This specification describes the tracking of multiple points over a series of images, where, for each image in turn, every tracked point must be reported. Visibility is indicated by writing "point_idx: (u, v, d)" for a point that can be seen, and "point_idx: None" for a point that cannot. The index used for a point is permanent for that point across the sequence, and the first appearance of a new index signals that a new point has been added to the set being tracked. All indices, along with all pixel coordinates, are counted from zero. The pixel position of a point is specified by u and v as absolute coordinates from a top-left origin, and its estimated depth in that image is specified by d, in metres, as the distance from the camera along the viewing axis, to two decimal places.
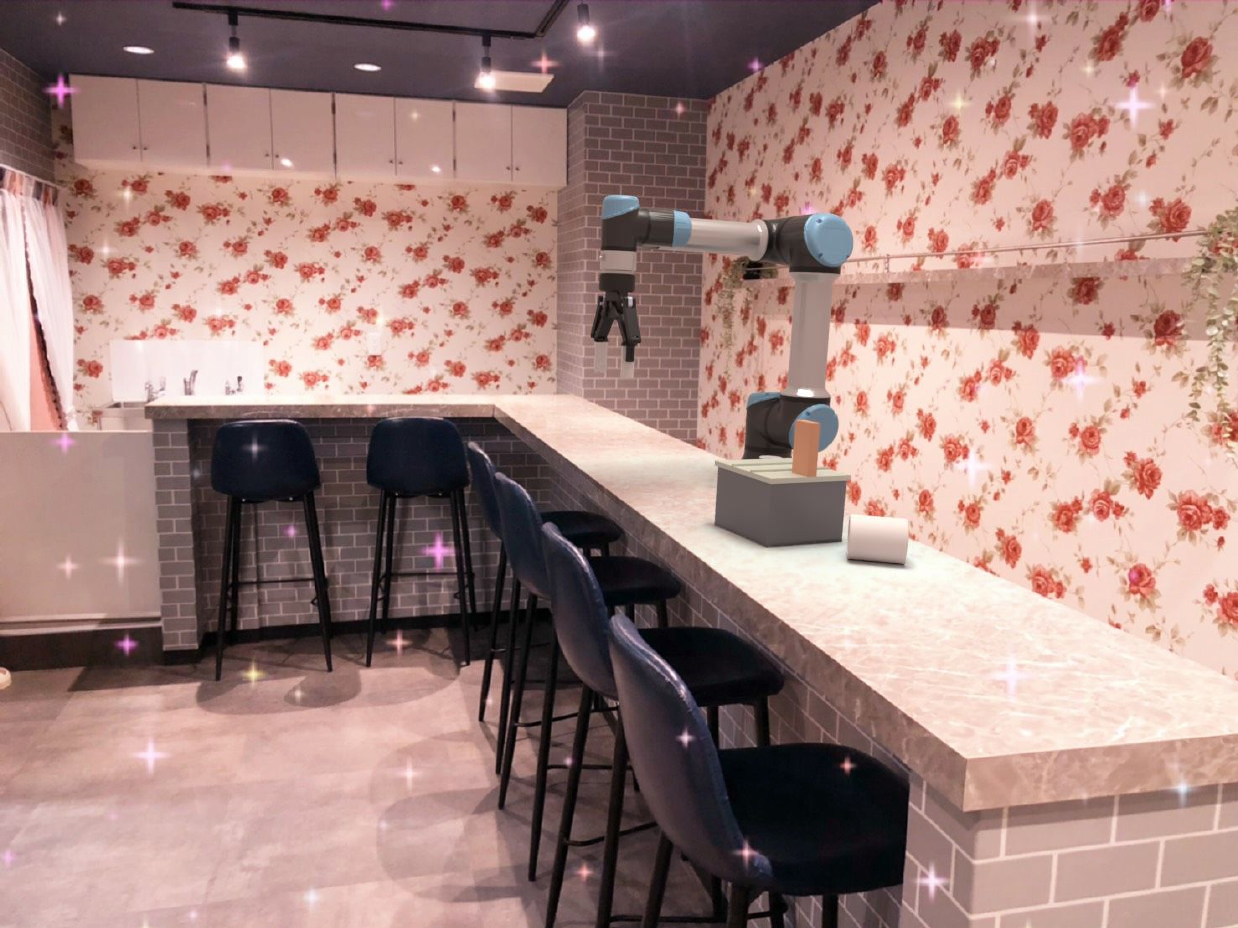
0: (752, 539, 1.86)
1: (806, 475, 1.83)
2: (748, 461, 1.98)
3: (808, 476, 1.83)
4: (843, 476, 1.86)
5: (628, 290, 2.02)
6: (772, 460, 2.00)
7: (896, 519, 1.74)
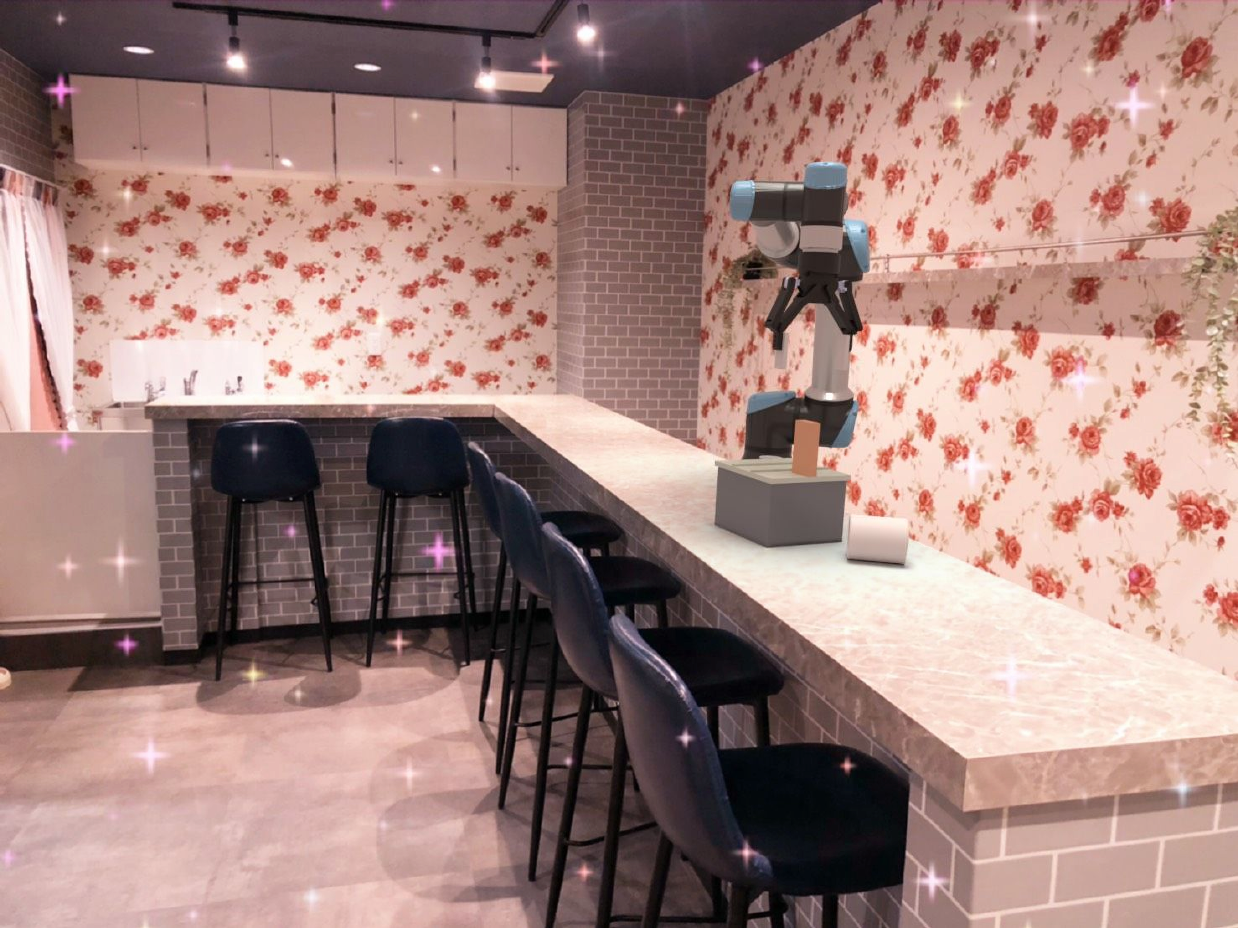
0: (752, 539, 1.86)
1: (806, 475, 1.83)
2: (748, 461, 1.98)
3: (808, 476, 1.83)
4: (843, 476, 1.86)
5: (805, 270, 1.77)
6: (772, 460, 2.00)
7: (896, 519, 1.74)
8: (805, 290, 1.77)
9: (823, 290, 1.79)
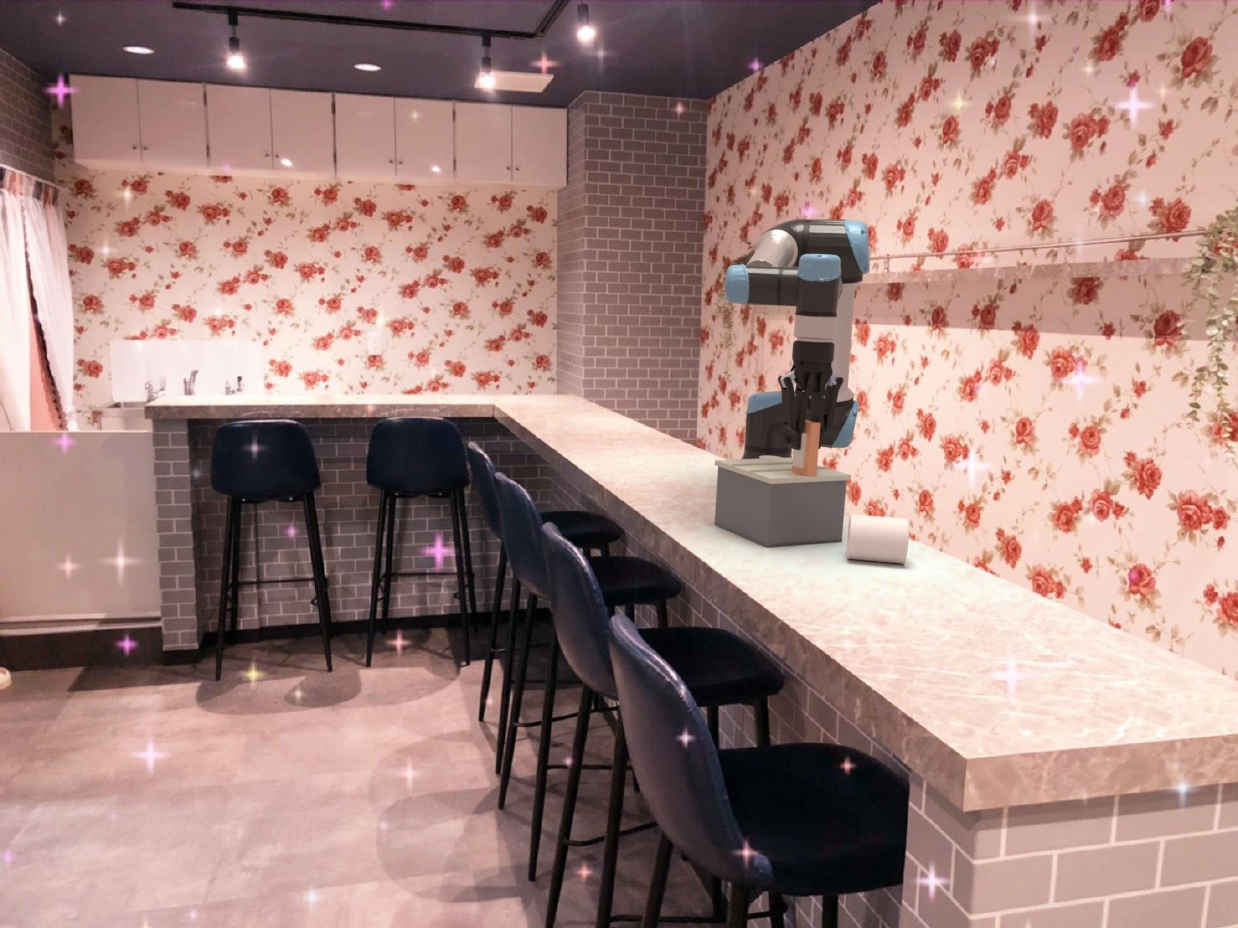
0: (752, 539, 1.86)
1: (806, 475, 1.83)
2: (748, 461, 1.98)
3: (808, 476, 1.83)
4: (843, 476, 1.86)
5: (799, 359, 1.79)
6: (772, 460, 2.00)
7: (896, 519, 1.74)
8: (799, 379, 1.80)
9: (817, 375, 1.81)
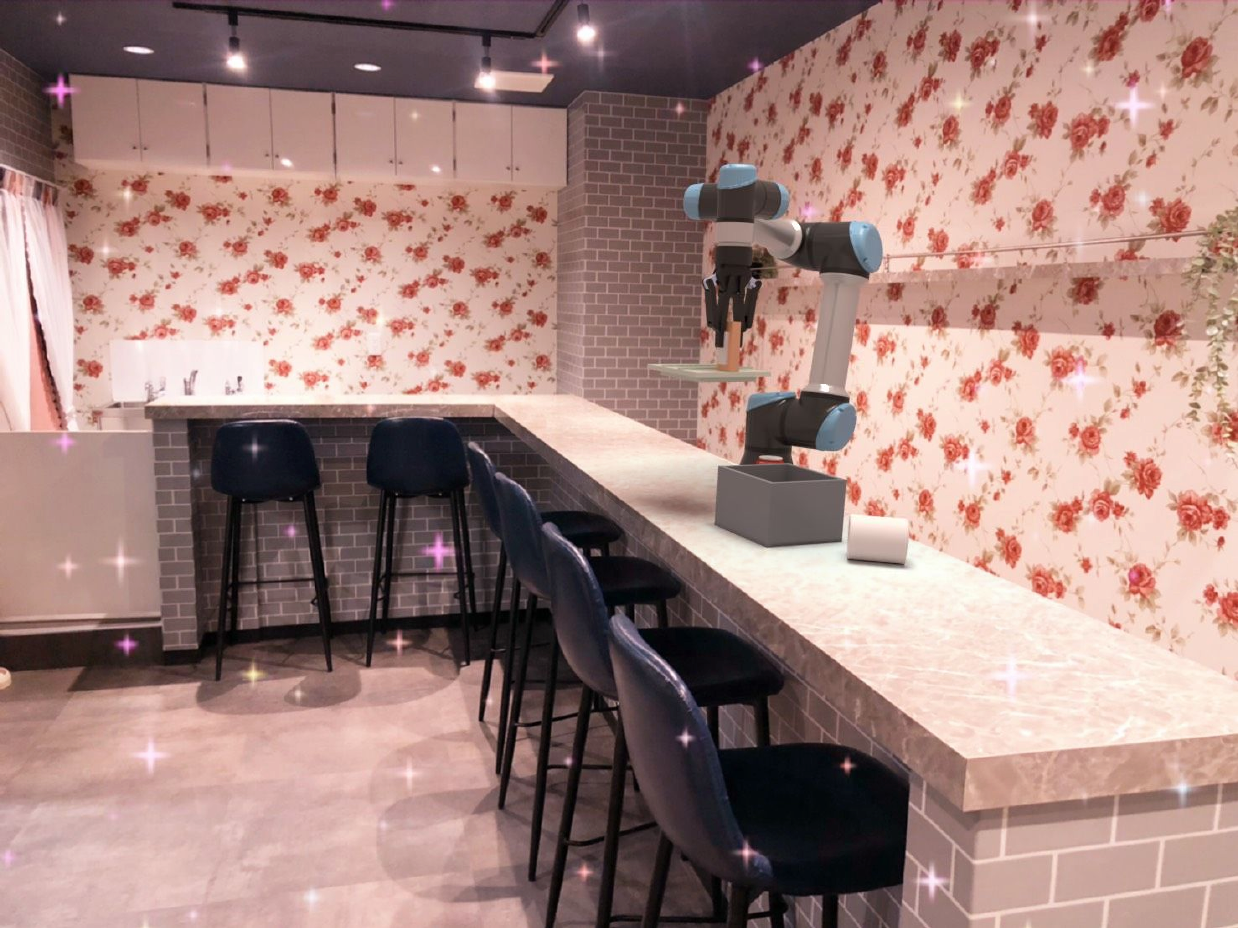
0: (752, 539, 1.86)
1: (729, 370, 1.98)
2: (678, 364, 2.13)
3: (731, 371, 1.98)
4: (763, 372, 2.02)
5: (720, 262, 1.95)
6: None
7: (896, 519, 1.74)
8: (720, 281, 1.95)
9: (737, 278, 1.97)
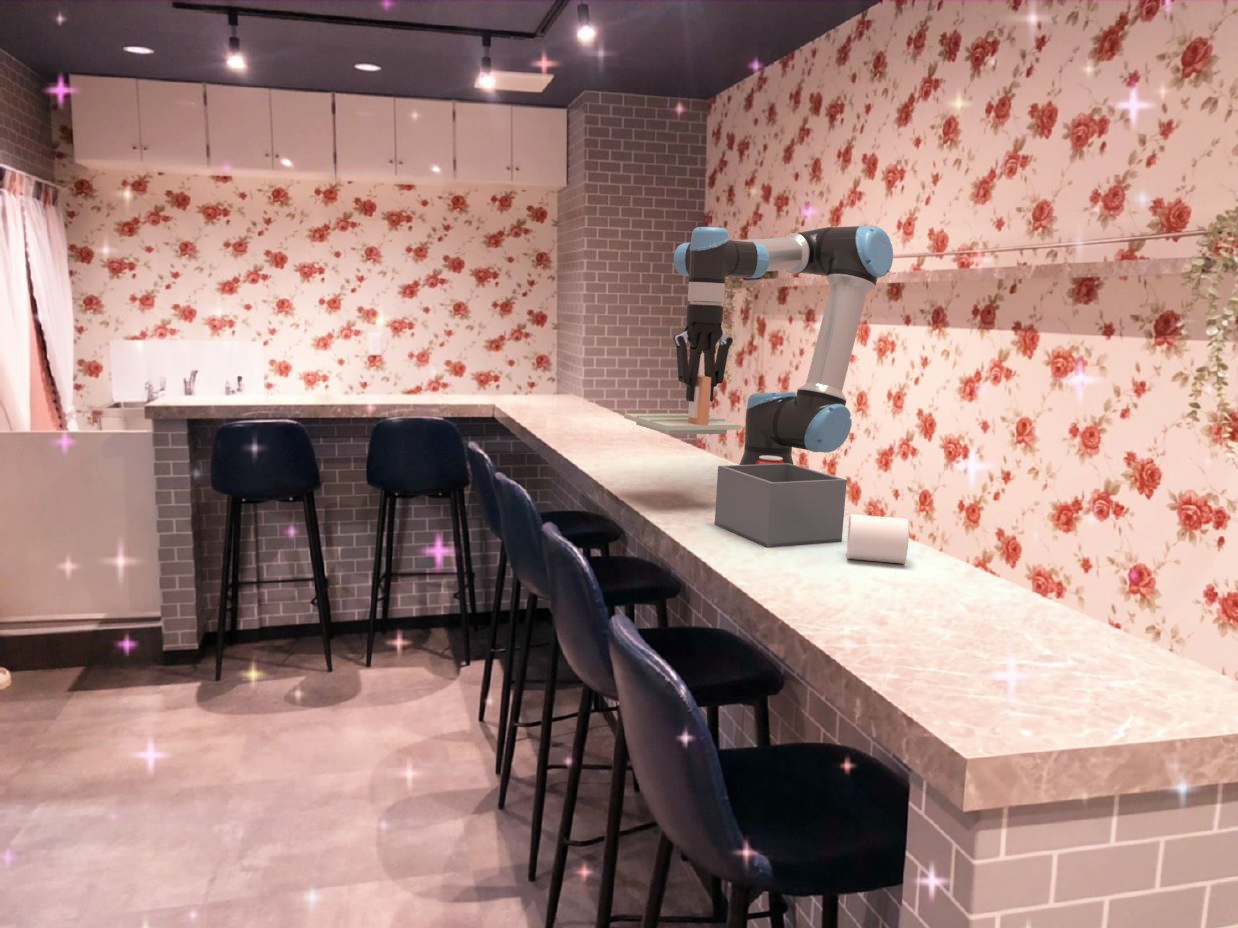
0: (752, 539, 1.86)
1: (699, 423, 2.06)
2: (654, 414, 2.21)
3: (700, 424, 2.06)
4: (733, 425, 2.09)
5: (691, 320, 2.02)
6: (677, 414, 2.23)
7: (896, 519, 1.74)
8: (691, 338, 2.03)
9: (708, 335, 2.04)
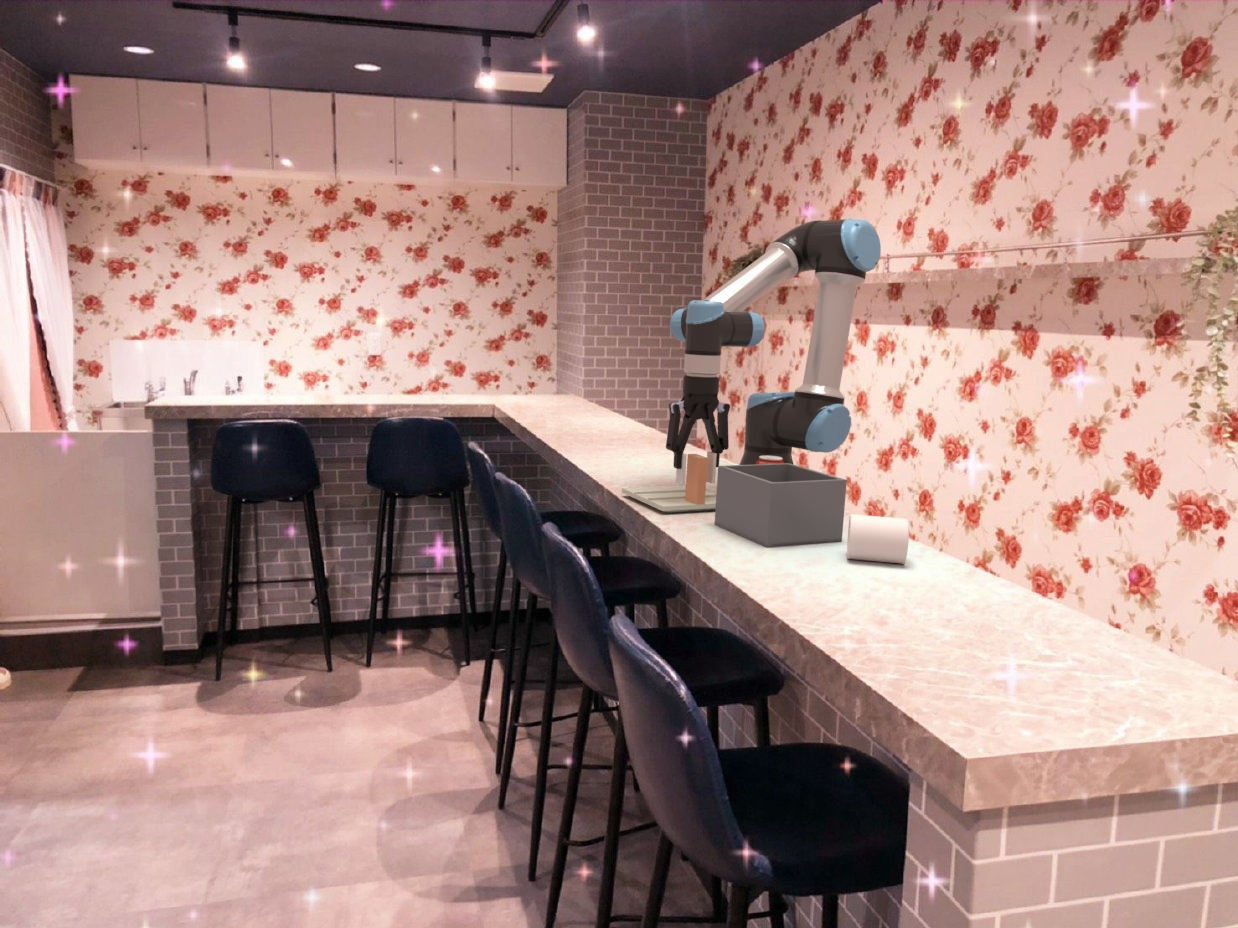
0: (752, 539, 1.86)
1: (695, 503, 2.09)
2: (651, 488, 2.23)
3: (697, 504, 2.08)
4: None
5: (687, 392, 2.05)
6: (674, 487, 2.26)
7: (896, 519, 1.74)
8: (688, 409, 2.06)
9: (704, 407, 2.07)
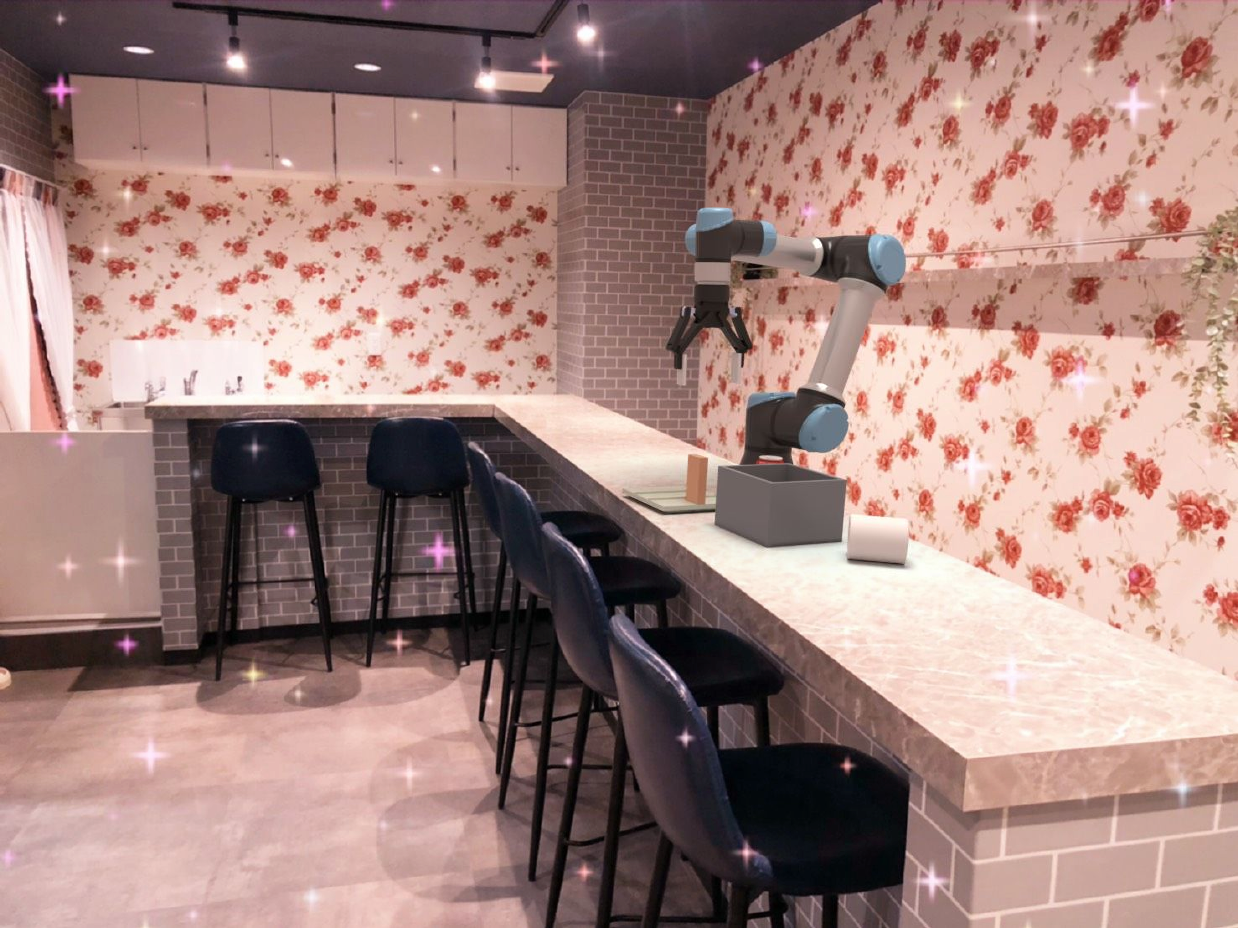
0: (752, 539, 1.86)
1: (696, 503, 2.08)
2: (652, 489, 2.23)
3: (698, 504, 2.08)
4: None
5: (699, 300, 2.06)
6: (674, 487, 2.26)
7: (896, 519, 1.74)
8: (700, 317, 2.07)
9: (716, 316, 2.09)
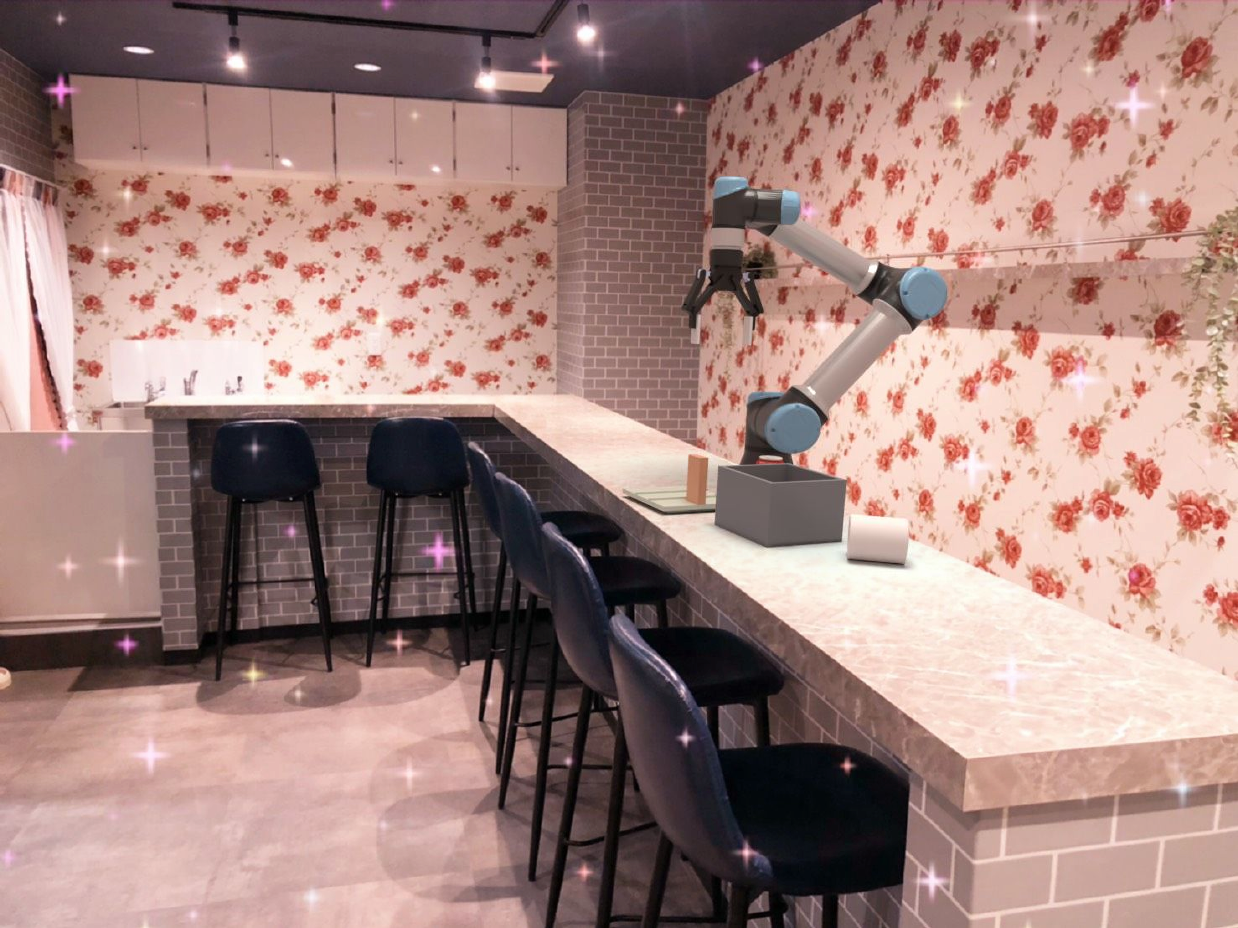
0: (752, 539, 1.86)
1: (696, 503, 2.08)
2: (652, 489, 2.23)
3: (698, 504, 2.08)
4: None
5: (714, 264, 2.19)
6: (675, 488, 2.26)
7: (896, 519, 1.74)
8: (714, 280, 2.20)
9: (729, 280, 2.21)
